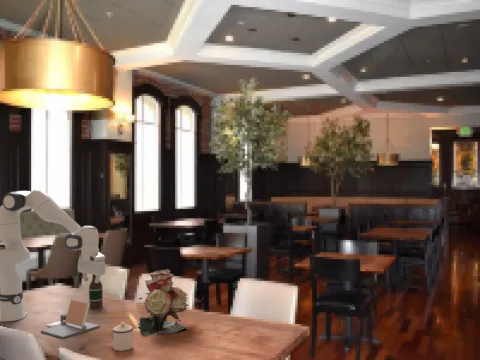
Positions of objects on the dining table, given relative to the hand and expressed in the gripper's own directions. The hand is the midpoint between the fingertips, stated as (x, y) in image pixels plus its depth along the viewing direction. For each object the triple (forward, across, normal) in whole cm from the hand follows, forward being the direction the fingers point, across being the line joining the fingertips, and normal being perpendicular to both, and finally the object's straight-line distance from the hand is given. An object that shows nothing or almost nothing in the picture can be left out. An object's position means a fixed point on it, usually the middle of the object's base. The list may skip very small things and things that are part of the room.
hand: (91, 281), depth 266 cm
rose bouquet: (+23, +37, +17) cm, 47 cm away
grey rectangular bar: (+22, -14, -10) cm, 27 cm away
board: (+22, +1, -14) cm, 26 cm away
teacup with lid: (+23, +43, -15) cm, 51 cm away
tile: (+14, +1, -9) cm, 17 cm away
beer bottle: (+22, -27, +21) cm, 41 cm away
